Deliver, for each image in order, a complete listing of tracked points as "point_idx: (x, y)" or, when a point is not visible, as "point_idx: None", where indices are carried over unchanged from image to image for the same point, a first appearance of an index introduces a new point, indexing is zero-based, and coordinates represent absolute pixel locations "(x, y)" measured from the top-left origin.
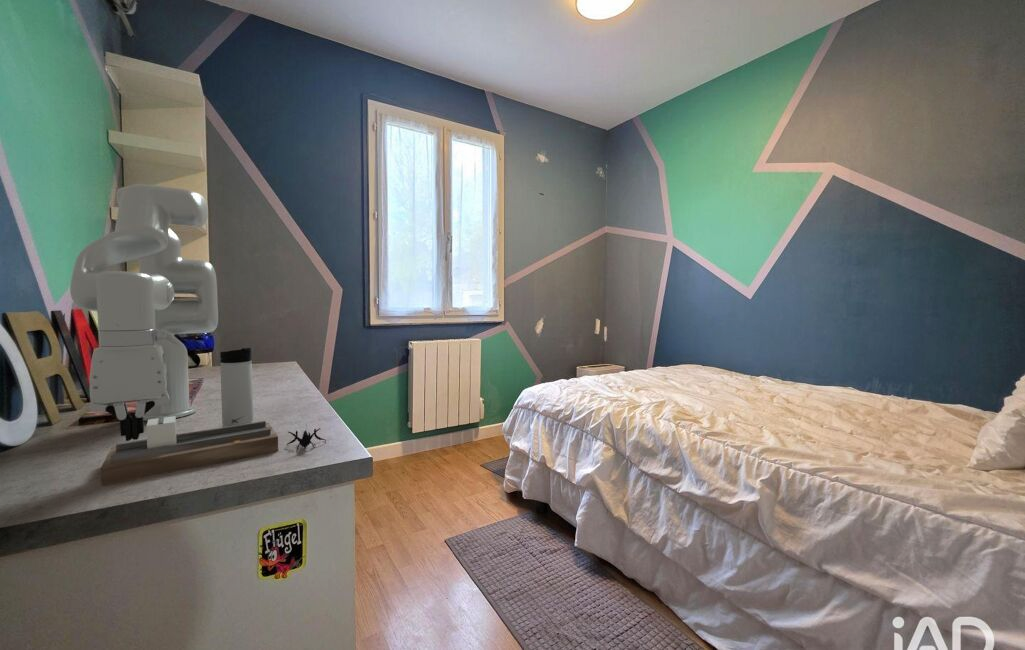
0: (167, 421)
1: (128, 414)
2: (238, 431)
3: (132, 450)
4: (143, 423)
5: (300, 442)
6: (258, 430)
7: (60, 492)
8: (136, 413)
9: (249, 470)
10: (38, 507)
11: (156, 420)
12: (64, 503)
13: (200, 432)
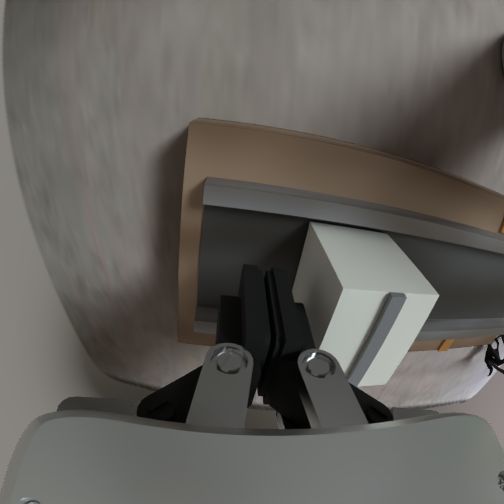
0: (376, 366)
1: (250, 401)
2: (501, 255)
3: (253, 235)
4: (308, 325)
5: (485, 362)
6: (495, 329)
7: (115, 289)
8: (281, 421)
9: (396, 382)
10: (106, 337)
11: (359, 330)
12: (140, 349)
13: (452, 241)
